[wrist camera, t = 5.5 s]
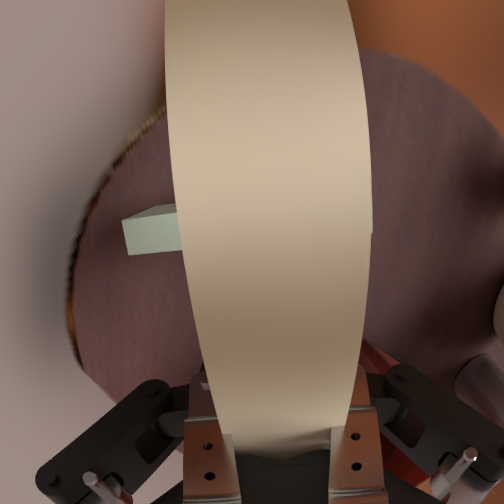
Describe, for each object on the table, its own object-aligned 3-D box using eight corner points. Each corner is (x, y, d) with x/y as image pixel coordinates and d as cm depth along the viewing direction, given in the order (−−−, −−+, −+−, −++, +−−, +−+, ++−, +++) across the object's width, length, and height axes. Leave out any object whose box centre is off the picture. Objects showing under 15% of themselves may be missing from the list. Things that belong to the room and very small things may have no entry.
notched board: (344, 186, 28) (371, 195, 20) (345, 215, 29) (372, 232, 21) (155, 206, 29) (121, 220, 22) (159, 233, 30) (128, 255, 22)
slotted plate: (304, 356, 15) (326, 486, 7) (249, 360, 15) (240, 492, 7) (292, 73, 10) (335, -38, 3) (222, 78, 10) (166, -28, 3)
